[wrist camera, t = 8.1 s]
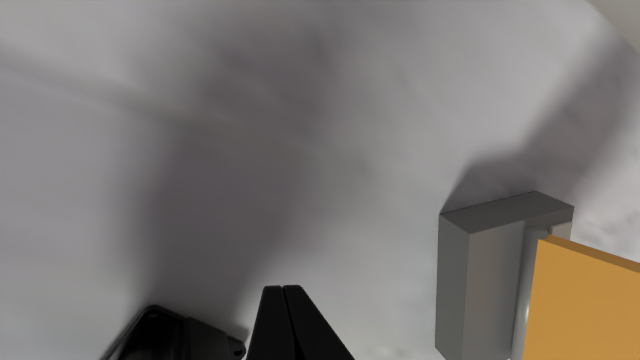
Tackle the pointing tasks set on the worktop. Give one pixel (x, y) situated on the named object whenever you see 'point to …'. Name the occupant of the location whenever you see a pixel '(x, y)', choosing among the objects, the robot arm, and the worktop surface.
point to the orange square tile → (575, 302)
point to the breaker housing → (487, 272)
